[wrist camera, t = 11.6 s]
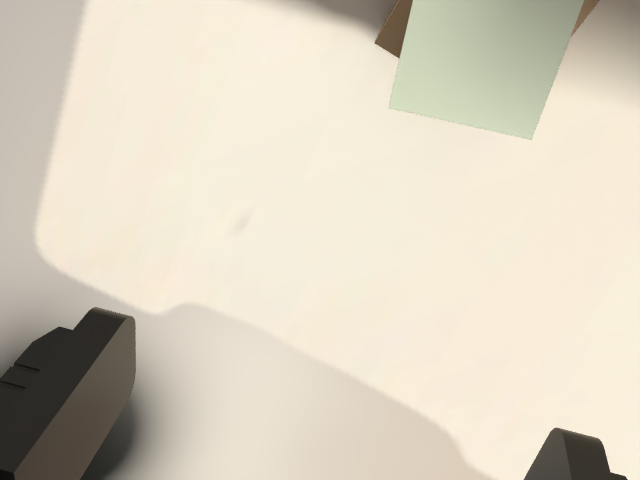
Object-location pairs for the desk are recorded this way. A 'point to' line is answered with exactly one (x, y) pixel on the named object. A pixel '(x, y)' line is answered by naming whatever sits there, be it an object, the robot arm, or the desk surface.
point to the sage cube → (483, 61)
